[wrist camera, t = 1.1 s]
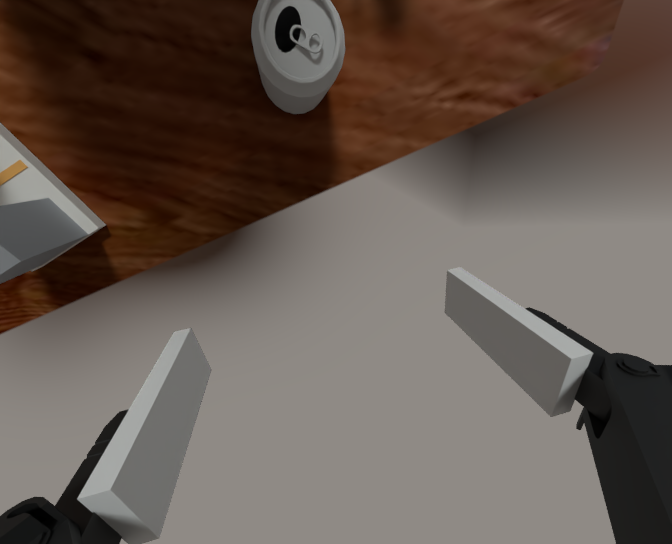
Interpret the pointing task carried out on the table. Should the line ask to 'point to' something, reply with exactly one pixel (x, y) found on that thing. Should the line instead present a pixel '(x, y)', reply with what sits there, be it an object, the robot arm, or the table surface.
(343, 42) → the can
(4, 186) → the rod stand
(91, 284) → the table surface
